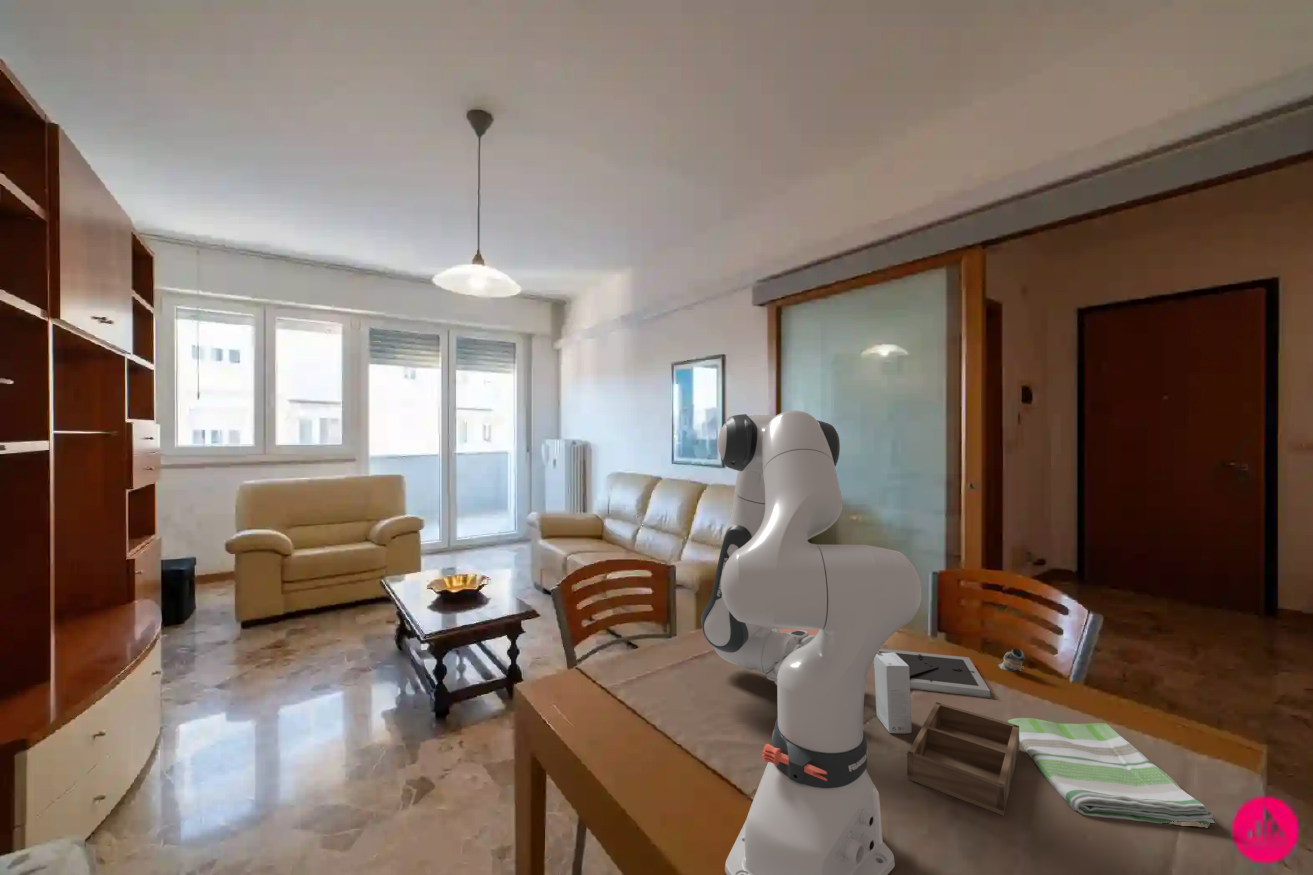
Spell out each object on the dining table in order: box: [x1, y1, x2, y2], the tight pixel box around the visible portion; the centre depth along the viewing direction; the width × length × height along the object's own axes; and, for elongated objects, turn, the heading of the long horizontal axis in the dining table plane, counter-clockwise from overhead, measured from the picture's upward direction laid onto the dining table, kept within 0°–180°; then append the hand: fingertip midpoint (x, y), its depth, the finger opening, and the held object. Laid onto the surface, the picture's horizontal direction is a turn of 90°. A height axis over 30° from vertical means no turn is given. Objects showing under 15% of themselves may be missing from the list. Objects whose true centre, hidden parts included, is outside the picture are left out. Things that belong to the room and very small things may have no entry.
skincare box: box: [873, 653, 913, 734], centre depth 97 cm, size 6×4×12 cm
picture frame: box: [872, 648, 991, 698], centre depth 117 cm, size 16×3×21 cm
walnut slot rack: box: [906, 701, 1020, 816], centre depth 86 cm, size 19×13×4 cm, turn 140°
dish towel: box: [1006, 717, 1216, 826], centre depth 84 cm, size 17×23×4 cm
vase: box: [997, 648, 1026, 672], centre depth 116 cm, size 5×5×6 cm
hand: (851, 675), depth 102 cm, fingers open, 8 cm apart
